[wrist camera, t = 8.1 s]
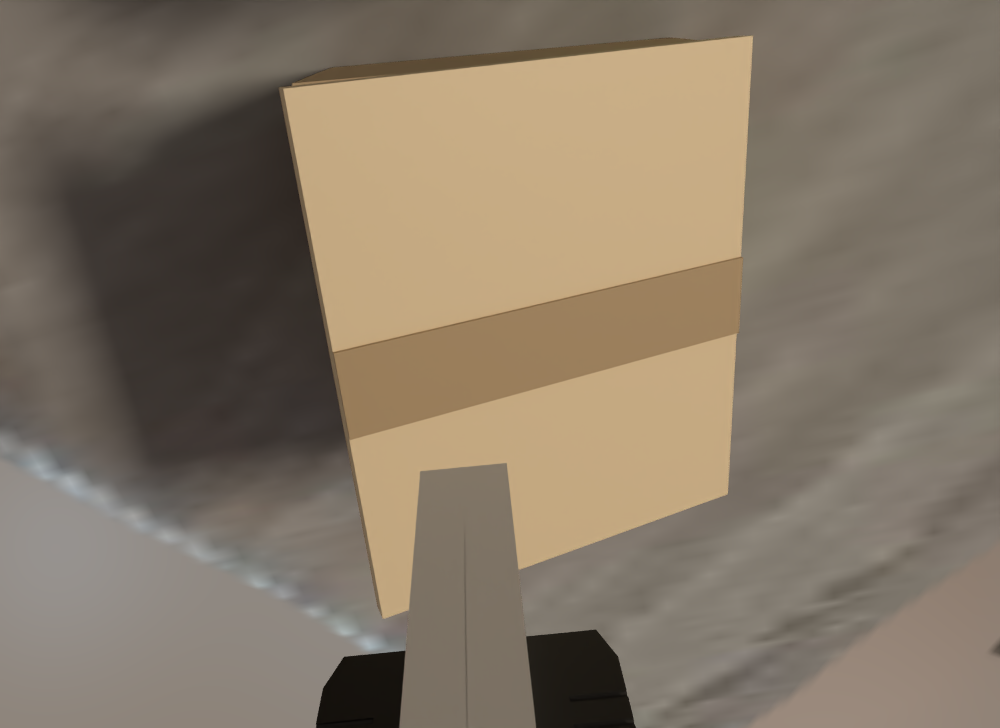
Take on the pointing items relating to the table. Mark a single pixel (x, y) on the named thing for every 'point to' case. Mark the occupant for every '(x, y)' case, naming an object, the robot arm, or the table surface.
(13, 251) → the table surface
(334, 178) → the lid
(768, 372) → the table surface
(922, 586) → the table surface
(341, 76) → the carton
